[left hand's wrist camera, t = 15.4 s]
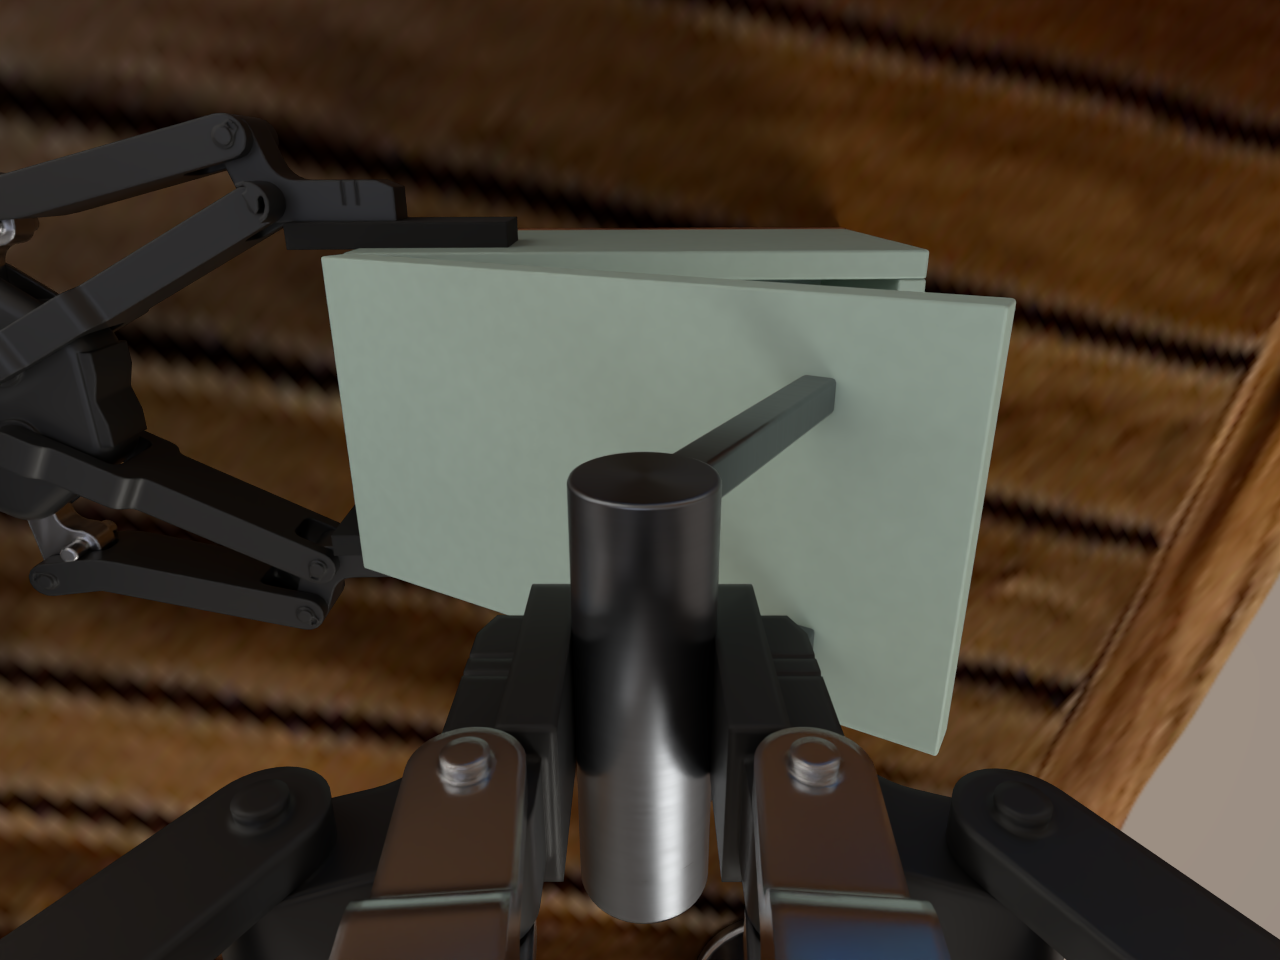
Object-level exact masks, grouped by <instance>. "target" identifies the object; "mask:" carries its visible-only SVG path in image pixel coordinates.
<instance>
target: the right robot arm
mask: <svg viewBox="0 0 1280 960" xmlns="http://www.w3.org/2000/svg"><path fill="white" fill-rule="evenodd" d="M278 144H279V140H278V135H277V133H276V131H275V129H274V127H273V126H272V125H271V124H269V123H268V122H267V121H265V120H263V119H260V118H255V117H248V116H241V115H234V114H228V113H215V114H211V115H208V116H204V117H201V118H197V119H194V120H190V121H187V122H183V123H180V124H176V125H173V126H169V127H166V128H162V129H159V130H155V131H152V132H148V133H145V134H141V135H138V136H134V137H131V138H127V139H124V140H120V141H117V142H113V143H110V144H107V145H103V146H100V147H96V148H93V149H89V150H86V151H82V152H79V153H75V154H72V155H68V156H65V157H61V158H58V159H54V160H51V161H47V162H44V163H40V164H37V165H33V166H30V167H26V168H23V169H19V170H16V171H12V172H9V173H0V511H1V512H4V513H6V514H8V515H11V516H13V517H16V518H19V519H24V520H28V522H29V525H30V527H31V530H32V532H33V534H34V537H35V539H36V542H37V544H38V547H39V549H40V551H41V554H42V556H43V559H44V561H42V562H41V563H39V564H38V565H36V566H35V567H34V568H33V569H32V570H31V571H30V574H29V579H30V583H31V584H32V586H33V587H34V588H35V589H36V590H37V591H39V592H40V593H42V594H45V595H51V596H56V595H65V594H74V593H84V592H93V591H107V592H112V593H117V594H123V595H128V596H133V597H138V598H144V599H149V600H154V601H159V602H165V603H170V604H175V605H180V606H186V607H191V608H196V609H201V610H206V611H212V612H217V613H222V614H227V615H233V616H238V617H243V618H248V619H254V620H259V621H264V622H269V623H275V624H280V625H285V626H290V627H295V628H301V629H314V628H317V627H318V626H319V625H321V624H322V622H323V621H324V619H325V617H326V616H327V614H328V613H329V611H330V610H331V608H332V607H333V605H334V604H335V602H336V600H337V599H338V597H339V596H340V594H341V593H342V591H343V589H344V586H345V581H344V579H346V578H351V577H390V576H388V575H385V574H382V573H379V572H376V571H373V570H370V569H367V568H365V567H364V563H363V556H362V549H361V542H360V534H359V527H358V520H357V513H356V506H355V505H354V507H353V508H352V509H351V510H350V512H349V513H348V514H347V516H346V517H345V518H344V520H343V521H342V522H341V523H339V522H336V521H334V520H332V519H329V518H327V517H325V516H323V515H320V514H318V513H316V512H313V511H311V510H309V509H306V508H304V507H302V506H299V505H297V504H295V503H292V502H290V501H288V500H286V499H283V498H281V497H279V496H276V495H274V494H272V493H269V492H267V491H265V490H262V489H260V488H258V487H256V486H253V485H251V484H249V483H246V482H244V481H242V480H239V479H237V478H235V477H232V476H230V475H228V474H226V473H223V472H221V471H219V470H216V469H214V468H212V467H209V466H207V465H205V464H202V463H200V462H198V461H196V460H193V459H191V458H189V457H186V456H184V455H182V454H181V453H180V451H179V448H178V447H177V446H176V445H175V444H173V443H171V442H169V441H167V440H165V439H162V438H160V437H158V436H155V435H153V434H151V433H149V432H146V431H144V430H146V429H147V426H146V422H145V418H144V413H143V409H142V406H141V404H140V403H139V401H138V399H137V397H136V395H135V393H134V391H133V389H132V387H131V368H132V362H131V357H130V353H129V349H128V344H127V340H118V338H117V337H116V335H115V334H114V332H115V331H117V330H118V329H120V328H122V327H123V326H125V325H127V324H128V323H130V322H132V321H133V320H135V319H137V318H138V317H140V316H142V315H143V314H145V313H146V312H148V311H149V309H150V308H151V307H153V306H154V305H156V304H158V303H159V302H161V301H163V300H164V299H166V298H168V297H169V296H171V295H173V294H174V293H176V292H178V291H179V290H181V289H183V288H184V287H186V286H188V285H189V284H191V283H193V282H194V281H196V280H197V279H199V278H201V277H202V276H204V275H206V274H207V273H209V272H211V271H212V270H214V269H216V268H217V267H219V266H221V265H222V264H224V263H226V262H227V261H229V260H231V259H232V258H234V257H236V256H237V255H239V254H241V253H242V252H244V251H246V250H247V249H249V248H251V247H252V246H254V245H256V244H257V243H259V242H261V241H262V240H264V239H266V238H267V237H269V236H271V235H272V234H274V233H276V232H277V231H279V230H281V229H282V228H284V234H285V240H286V247H287V250H312V249H359V248H508V247H510V246H511V245H512V244H514V243H515V242H517V241H518V228H517V217H408V216H407V206H406V197H405V187H404V186H402V185H400V184H397V183H395V182H392V181H390V180H310V179H304V178H302V177H299V176H298V175H296V174H295V173H294V172H293V171H292V170H291V169H290V168H289V167H288V166H287V164H286V162H285V161H284V159H283V156H282V154H281V152H280V150H279V148H278ZM223 171H228V173H229V175H230V177H231V179H232V181H233V183H234V185H235V186H236V188H237V189H235V190H234V191H232V192H230V193H229V194H227V195H226V196H224V197H222V198H221V199H219V200H217V201H216V202H214V203H213V204H211V205H209V206H208V207H206V208H205V209H203V210H201V211H200V212H198V213H196V214H195V215H193V216H192V217H190V218H188V219H187V220H185V221H183V222H182V223H180V224H179V225H177V226H175V227H174V228H172V229H170V230H169V231H167V232H166V233H164V234H162V235H161V236H159V237H158V238H156V239H154V240H153V241H151V242H149V243H148V244H146V245H145V246H143V247H141V248H140V249H138V250H136V251H135V252H133V253H132V254H130V255H128V256H127V257H125V258H123V259H122V260H120V261H119V262H117V263H115V264H114V265H112V266H111V267H109V268H107V269H106V270H104V271H102V272H101V273H99V274H98V275H96V276H94V277H93V278H91V279H89V280H88V281H86V282H85V283H83V284H81V285H79V286H77V287H75V288H73V289H70V290H68V291H65V292H63V293H61V294H58V293H56V292H55V291H53V290H52V289H50V288H48V287H47V286H45V285H43V284H42V283H40V282H38V281H37V280H35V279H33V278H32V277H30V276H28V275H27V274H25V273H23V272H22V271H20V270H18V269H17V268H15V267H13V266H11V265H9V264H7V263H5V255H6V252H7V250H8V249H9V248H10V247H11V246H12V245H14V244H19V243H24V242H27V241H28V240H30V239H31V238H32V236H33V234H34V231H36V230H37V229H38V228H39V220H38V217H49V216H60V215H68V214H72V213H77V212H81V211H85V210H88V209H92V208H95V207H99V206H102V205H106V204H110V203H113V202H117V201H120V200H124V199H127V198H131V197H134V196H138V195H141V194H145V193H149V192H152V191H156V190H159V189H163V188H166V187H170V186H173V185H177V184H180V183H184V182H188V181H191V180H195V179H198V178H202V177H205V176H209V175H212V174H216V173H219V172H223ZM122 462H124V463H122ZM121 463H122V464H121ZM80 496H82V497H84V498H87V499H89V500H92V501H94V502H97V503H99V504H101V505H104V506H106V507H109V508H113V509H129V508H130V509H136V510H139V511H141V512H144V513H146V514H149V515H151V516H153V517H156V518H158V519H161V520H163V521H165V522H168V523H170V524H173V525H175V526H177V527H180V528H182V529H185V530H187V531H190V532H192V533H194V534H197V535H199V536H202V537H204V538H206V539H209V540H211V541H214V542H216V543H218V544H221V545H223V546H226V547H228V548H226V547H221V546H216V545H211V544H206V543H201V542H196V541H191V540H186V539H181V538H176V537H171V536H166V535H161V534H156V533H150V532H143V531H117V526H116V525H115V523H113V522H112V521H109V520H104V521H102V522H100V521H96V520H88V519H86V518H83V517H82V516H80V515H79V514H77V512H76V511H75V510H74V509H73V507H72V505H71V503H73V502H74V501H75V500H77V499H78V498H79V497H80Z"/></svg>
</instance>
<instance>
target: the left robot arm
mask: <svg viewBox="0 0 1280 960" xmlns="http://www.w3.org/2000/svg"><path fill="white" fill-rule="evenodd" d="M576 759H577V750H576V723H575V696H574V669H573V642H572V615H571V588H570V584H532V586H531V589H530V593H529V597H528V601H527V605H526V608H525V612H524V615H497V616H496V617H495V618H494V619H493V620H491V621H490V622H489V623H488V624H487V625H486V626H485V627H484V628H483V629H482V630H480V631H479V632H478V633H477V635H476V638H475V641H474V644H473V647H472V650H471V652H470V659H468V661H467V664H466V667H465V669H464V676H462V678H461V681H460V684H459V686H458V689H457V692H456V695H455V698H454V701H453V704H452V706H451V709H450V712H449V715H448V718H447V721H446V723H445V726H444V729H443V732H442V734H440V735H438V736H436V737H434V738H432V739H430V740H429V741H427V742H425V743H424V744H423V745H422V746H420V747H419V748H418V749H417V750H416V751H415V752H414V753H413V754H412V756H411V757H410V759H409V760H408V762H407V764H406V767H405V770H404V774H403V777H402V778H400V779H398V780H396V781H394V782H391V783H389V784H386V785H383V786H380V787H376V788H372V789H368V790H364V791H360V792H355V793H351V794H347V795H342V796H338V797H334V798H331V792H330V787H329V785H328V783H327V781H326V780H325V779H324V778H323V777H322V776H321V775H319V774H318V773H316V772H314V771H312V770H309V769H305V768H300V767H276V768H270V769H265V770H261V771H257V772H254V773H251V774H249V775H246V776H243V777H241V778H239V779H237V780H235V781H233V782H231V783H229V784H228V785H226V786H225V787H223V788H221V789H220V790H218V791H217V792H215V793H214V794H212V795H211V796H210V797H208V798H207V799H205V800H204V801H202V802H201V803H199V804H198V805H196V806H195V807H193V808H192V809H191V810H189V811H188V812H186V813H185V814H183V815H182V816H180V817H179V818H177V819H176V820H174V821H173V822H172V823H170V824H169V825H167V826H166V827H164V828H163V829H161V830H160V831H158V832H157V833H155V834H154V835H153V836H151V837H150V838H148V839H147V840H145V841H144V842H142V843H141V844H139V845H138V846H136V847H135V848H134V849H132V850H131V851H129V852H128V853H126V854H125V855H123V856H122V857H120V858H119V859H117V860H116V861H115V862H113V863H112V864H110V865H109V866H107V867H106V868H104V869H103V870H101V871H100V872H98V873H97V874H96V875H94V876H93V877H91V878H90V879H88V880H87V881H85V882H84V883H82V884H81V885H79V886H78V887H77V888H75V889H74V890H72V891H71V892H69V893H68V894H66V895H65V896H63V897H62V898H60V899H59V900H58V901H56V902H55V903H53V904H52V905H50V906H49V907H47V908H46V909H44V910H43V911H41V912H40V913H39V914H37V915H36V916H34V917H33V918H31V919H30V920H28V921H27V922H25V923H24V924H22V925H21V926H20V927H18V928H17V929H15V930H14V931H12V932H11V933H9V934H8V935H6V936H5V937H3V938H2V939H1V940H0V960H214V959H215V958H216V957H217V956H219V955H220V954H221V953H222V957H223V960H536V944H537V931H536V918H537V916H538V912H539V908H540V902H541V895H542V887H543V882H563V880H564V871H565V862H566V852H567V843H568V833H569V824H570V815H571V805H572V796H573V787H574V777H575V768H576ZM709 774H710V782H711V791H712V800H713V809H714V817H715V826H716V835H717V844H718V853H719V861H720V870H721V879H722V882H742V884H743V891H744V898H745V917H744V919H742V920H740V921H738V922H735V923H733V924H731V925H730V926H728V927H726V928H725V929H723V930H722V931H720V932H719V933H718V934H716V935H715V936H714V937H713V938H712V939H711V940H710V941H709V942H708V943H707V944H706V946H705V947H704V948H703V950H702V951H701V953H700V955H699V957H698V960H1064V958H1065V959H1066V960H1280V939H1278V938H1277V937H1275V936H1274V935H1272V934H1271V933H1269V932H1268V931H1266V930H1265V929H1263V928H1262V927H1261V926H1259V925H1258V924H1256V923H1255V922H1253V921H1252V920H1250V919H1249V918H1247V917H1246V916H1244V915H1243V914H1242V913H1240V912H1239V911H1237V910H1236V909H1234V908H1233V907H1231V906H1230V905H1228V904H1227V903H1225V902H1224V901H1222V900H1221V899H1220V898H1218V897H1217V896H1215V895H1214V894H1212V893H1211V892H1209V891H1208V890H1206V889H1205V888H1203V887H1202V886H1200V885H1199V884H1198V883H1196V882H1195V881H1193V880H1192V879H1190V878H1189V877H1187V876H1186V875H1184V874H1183V873H1181V872H1180V871H1179V870H1177V869H1176V868H1174V867H1173V866H1171V865H1170V864H1168V863H1167V862H1165V861H1164V860H1162V859H1161V858H1160V857H1158V856H1157V855H1155V854H1154V853H1152V852H1151V851H1149V850H1148V849H1146V848H1145V847H1144V846H1142V845H1141V844H1139V843H1138V842H1136V841H1135V840H1133V839H1132V838H1130V837H1129V836H1127V835H1126V834H1125V833H1123V832H1122V831H1120V830H1119V829H1117V828H1116V827H1114V826H1113V825H1111V824H1110V823H1108V822H1107V821H1106V820H1104V819H1103V818H1101V817H1100V816H1098V815H1097V814H1095V813H1094V812H1092V811H1091V810H1089V809H1088V808H1087V807H1085V806H1084V805H1082V804H1081V803H1079V802H1078V801H1076V800H1075V799H1073V798H1072V797H1070V796H1069V795H1068V794H1066V793H1065V792H1063V791H1062V790H1060V789H1058V788H1057V787H1055V786H1054V785H1052V784H1050V783H1048V782H1046V781H1044V780H1042V779H1039V778H1037V777H1034V776H1032V775H1029V774H1025V773H1022V772H1018V771H1013V770H1007V769H983V770H977V771H974V772H971V773H969V774H967V775H965V776H964V777H962V778H961V779H960V780H959V781H958V782H957V783H956V785H955V787H954V789H953V793H952V798H951V797H946V796H942V795H938V794H933V793H929V792H925V791H921V790H916V789H912V788H909V787H905V786H902V785H899V784H896V783H894V782H891V781H889V780H887V779H885V778H883V777H881V776H879V775H877V773H876V769H875V767H874V764H873V762H872V760H871V759H870V757H869V755H868V754H867V753H866V752H865V751H864V750H863V749H862V748H861V747H860V746H859V745H857V744H856V743H855V742H853V741H851V740H850V739H848V738H846V737H844V734H843V731H842V728H841V726H840V723H839V720H838V717H837V714H836V712H835V709H834V706H833V703H832V701H831V698H830V695H829V692H828V690H827V687H826V684H825V681H824V679H823V676H821V670H820V667H819V665H818V662H817V659H815V654H814V651H813V648H812V645H811V643H810V640H809V637H808V634H807V633H806V632H805V631H804V630H803V629H802V628H800V627H799V626H798V625H797V624H796V623H795V622H794V621H793V620H792V619H790V618H789V617H788V616H787V615H761V614H760V610H759V607H758V603H757V599H756V596H755V592H754V588H753V585H752V584H718V610H717V630H716V634H715V636H714V663H713V690H712V716H711V743H710V770H709Z"/></svg>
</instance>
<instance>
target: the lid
mask: <svg viewBox="0 0 1280 960" xmlns="http://www.w3.org/2000/svg"><path fill="white" fill-rule="evenodd" d="M321 261H322V268H323V275H324V283H325V290H326V297H327V304H328V311H329V318H330V326H331V333H332V340H333V347H334V354H335V362H336V369H337V376H338V383H339V390H340V398H341V405H342V412H343V419H344V426H345V434H346V441H347V448H348V455H349V462H350V470H351V477H352V484H353V491H354V498H355V506H356V513H357V520H358V527H359V534H360V542H361V549H362V556H363V563H364V567H365V568H367V569H370V570H373V571H376V572H379V573H382V574H385V575H388V576H391V577H394V578H397V579H400V580H403V581H406V582H410V583H413V584H416V585H419V586H422V587H425V588H428V589H431V590H434V591H437V592H440V593H443V594H446V595H449V596H452V597H455V598H458V599H461V600H464V601H467V602H470V603H473V604H476V605H479V606H482V607H485V608H488V609H491V610H494V611H497V612H500V613H504V614H507V615H524V612H525V608H526V605H527V601H528V597H529V593H530V589H531V586H532V584H570V588H571V615H572V642H573V669H574V696H575V723H576V750H577V777H578V804H579V831H580V858H581V876H582V882H583V885H584V888H585V890H586V892H587V894H588V895H589V896H590V898H591V899H592V901H593V902H594V903H595V904H596V905H597V906H598V907H599V908H600V909H602V910H603V911H604V912H606V913H607V914H609V915H611V916H613V917H615V918H617V919H620V920H623V921H626V922H632V923H640V924H649V923H658V922H663V921H666V920H670V919H672V918H674V917H677V916H678V915H680V914H682V913H684V912H685V911H686V910H688V909H689V908H690V907H691V906H692V905H693V904H694V903H695V902H696V901H697V899H698V898H699V897H700V895H701V894H702V892H703V890H704V888H705V885H706V882H707V876H708V854H709V827H710V802H711V801H712V791H711V782H710V774H709V770H710V743H711V716H712V690H713V663H714V636H715V634H716V630H717V610H718V584H752V585H753V588H754V592H755V596H756V599H757V603H758V607H759V610H760V614H761V615H787V616H788V617H789V618H790V619H792V620H793V621H794V622H795V623H796V624H797V625H798V626H799V627H800V628H802V629H803V630H804V631H805V632H806V633H807V634H808V637H809V640H810V643H811V645H812V648H813V651H814V654H815V659H817V662H818V665H819V667H820V670H821V676H823V679H824V681H825V684H826V687H827V690H828V692H829V695H830V698H831V701H832V703H833V706H834V709H835V712H836V714H837V717H838V720H839V723H840V725H843V726H846V727H849V728H852V729H855V730H858V731H861V732H864V733H867V734H871V735H874V736H877V737H880V738H883V739H886V740H889V741H892V742H895V743H898V744H901V745H904V746H907V747H910V748H913V749H916V750H919V751H922V752H925V753H928V754H931V755H937V754H938V752H939V749H940V746H941V743H942V740H943V738H944V735H945V732H946V729H947V723H948V717H949V711H950V705H951V698H952V692H953V686H954V680H955V674H956V668H957V661H958V655H959V649H960V643H961V637H962V631H963V625H964V618H965V612H966V606H967V600H968V594H969V588H970V582H971V575H972V569H973V563H974V557H975V551H976V545H977V539H978V532H979V526H980V520H981V514H982V508H983V502H984V496H985V489H986V483H987V477H988V471H989V465H990V459H991V452H992V446H993V440H994V434H995V428H996V422H997V416H998V409H999V403H1000V397H1001V391H1002V385H1003V379H1004V373H1005V366H1006V360H1007V354H1008V348H1009V342H1010V336H1011V330H1012V323H1013V317H1014V311H1015V305H1016V301H1015V299H1013V298H1001V297H986V296H971V295H957V294H942V293H927V292H912V291H897V290H883V289H868V288H853V287H838V286H823V285H809V284H794V283H779V282H764V281H749V280H735V279H720V278H705V277H690V276H676V275H661V274H646V273H631V272H616V271H602V270H587V269H572V268H557V267H542V266H528V265H513V264H498V263H483V262H468V261H454V260H439V259H424V258H409V257H394V256H380V255H365V254H341V255H331V256H323V257H322V258H321Z"/></svg>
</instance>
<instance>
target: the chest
mask: <svg viewBox="0 0 1280 960" xmlns="http://www.w3.org/2000/svg"><path fill="white" fill-rule="evenodd" d="M344 254H365V255H380V256H394V257H409V258H424V259H439V260H454V261H468V262H483V263H498V264H513V265H528V266H542V267H557V268H572V269H587V270H602V271H616V272H631V273H646V274H661V275H676V276H690V277H705V278H720V279H735V280H749V281H764V282H779V283H794V284H809V285H823V286H838V287H853V288H868V289H883V290H897V291H912V292H924V290H925V282H926V281H925V279H924V278H925V277H926V273H927V265H928V256H929V251H928V250H926V249H922V248H918V247H914V246H910V245H906V244H902V243H898V242H894V241H890V240H886V239H882V238H878V237H874V236H871V235H867V234H863V233H859V232H855V231H851V230H847V229H846V228H842V227H729V228H518V241H517V242H515V243H514V244H512V245H511V246H510V247H508V248H359V249H356V250H352V251H349V252H346V253H344Z"/></svg>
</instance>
